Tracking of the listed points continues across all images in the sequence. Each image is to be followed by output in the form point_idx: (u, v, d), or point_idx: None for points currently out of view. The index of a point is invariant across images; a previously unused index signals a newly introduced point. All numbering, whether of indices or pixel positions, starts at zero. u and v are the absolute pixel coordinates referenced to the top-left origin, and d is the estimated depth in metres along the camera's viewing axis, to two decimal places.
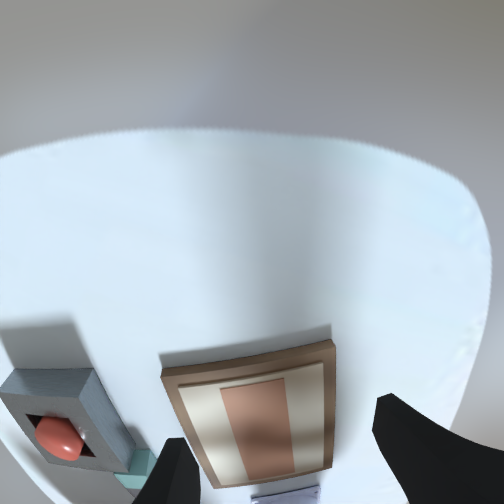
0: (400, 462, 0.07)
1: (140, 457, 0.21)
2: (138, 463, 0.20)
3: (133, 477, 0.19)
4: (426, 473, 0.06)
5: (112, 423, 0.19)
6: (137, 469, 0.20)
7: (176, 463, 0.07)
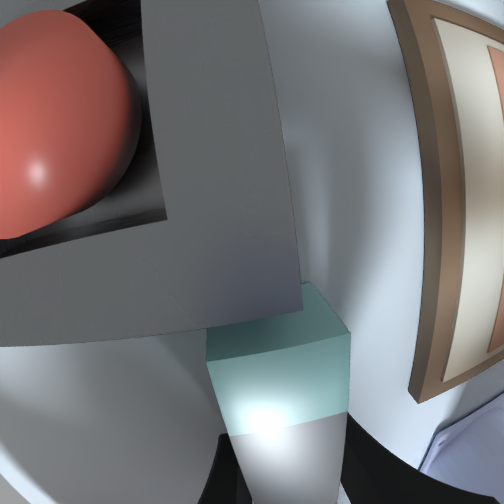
0: (348, 481, 0.07)
1: None
2: (295, 313, 0.08)
3: (290, 362, 0.06)
4: (368, 498, 0.06)
5: None
6: (302, 326, 0.07)
7: None
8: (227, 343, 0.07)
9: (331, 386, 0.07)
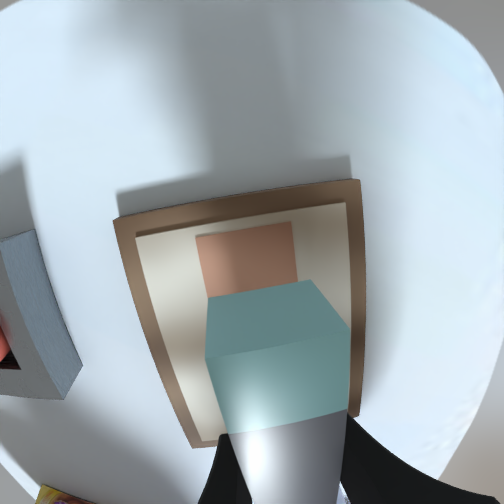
0: (348, 481, 0.07)
1: (291, 297, 0.08)
2: (294, 309, 0.08)
3: (289, 359, 0.06)
4: (368, 498, 0.06)
5: (47, 315, 0.14)
6: (302, 323, 0.07)
7: None
8: (226, 339, 0.07)
9: (331, 383, 0.07)
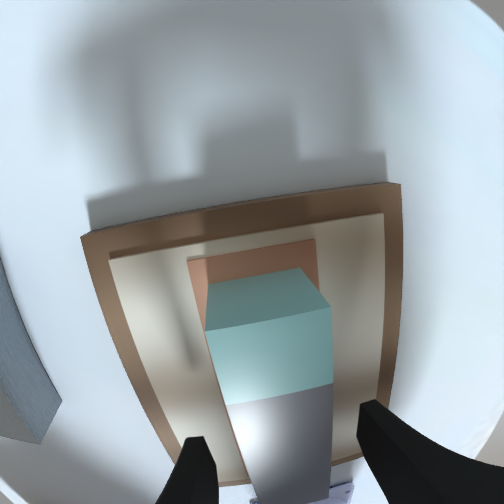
0: (382, 469, 0.07)
1: (281, 282, 0.09)
2: (283, 292, 0.09)
3: (278, 332, 0.07)
4: (406, 482, 0.06)
5: (14, 348, 0.10)
6: (289, 302, 0.08)
7: (198, 461, 0.07)
8: (224, 316, 0.08)
9: (316, 357, 0.08)
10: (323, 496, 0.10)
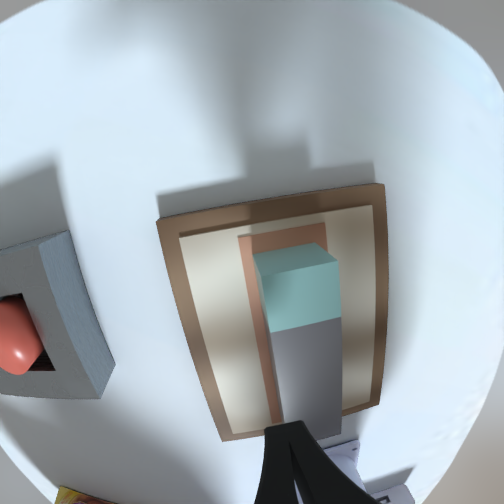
0: (303, 493, 0.07)
1: (304, 250, 0.14)
2: (306, 255, 0.13)
3: (306, 277, 0.12)
4: None
5: (83, 315, 0.15)
6: (311, 259, 0.13)
7: (289, 449, 0.08)
8: (270, 268, 0.12)
9: (330, 295, 0.12)
10: (336, 430, 0.15)
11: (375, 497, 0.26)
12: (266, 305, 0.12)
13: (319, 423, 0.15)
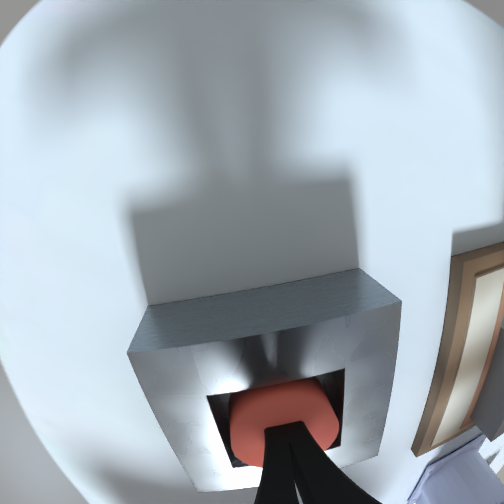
0: (303, 493, 0.07)
1: None
2: None
3: None
4: None
5: None
6: None
7: (289, 449, 0.08)
8: None
9: None
10: None
11: None
12: None
13: None
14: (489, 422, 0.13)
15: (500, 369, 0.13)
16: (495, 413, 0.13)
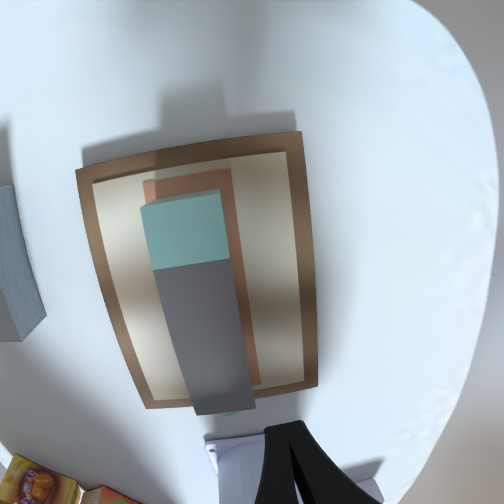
0: (303, 493, 0.07)
1: (201, 192, 0.13)
2: (198, 194, 0.13)
3: (185, 210, 0.12)
4: None
5: (15, 261, 0.14)
6: (197, 195, 0.12)
7: (289, 449, 0.08)
8: (154, 203, 0.12)
9: (213, 232, 0.12)
10: (249, 403, 0.14)
11: None
12: (146, 239, 0.12)
13: (225, 390, 0.14)
14: None
15: None
16: None
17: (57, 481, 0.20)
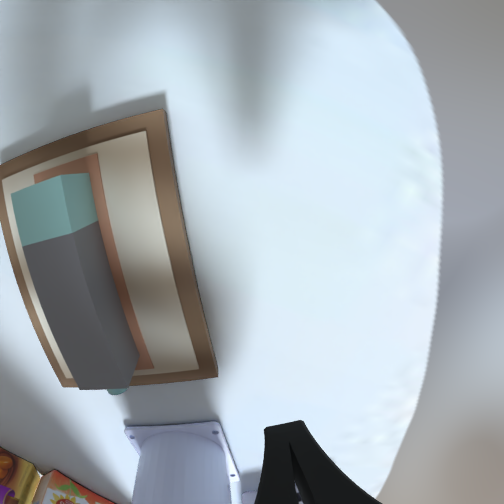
0: (303, 493, 0.07)
1: None
2: None
3: (38, 192, 0.11)
4: None
5: None
6: None
7: (288, 449, 0.08)
8: None
9: (58, 210, 0.11)
10: (120, 381, 0.14)
11: None
12: (16, 219, 0.11)
13: (95, 365, 0.13)
14: None
15: None
16: None
17: (16, 463, 0.20)
